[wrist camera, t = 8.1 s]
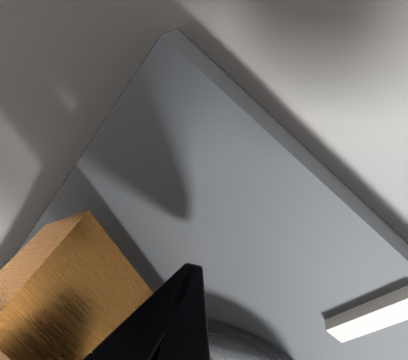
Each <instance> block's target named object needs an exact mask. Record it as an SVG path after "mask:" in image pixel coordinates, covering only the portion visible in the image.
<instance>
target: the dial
mask: <svg viewBox="0 0 408 360" xmlns="http://www.w3.org/2000/svg"><path fill="white" fill-rule="evenodd" d="M152 294H153V292H152V291H151V289H150V288H149V287H148V286H147V284H146V283H145V282H144V280H143V279H142V278H141V277H140V275H139V274H138V273H137V271H136V270H135V269H134V268H133V266H132V265H131V264H130V262H129V261H128V260H127V259H126V257H125V256H124V255H123V253H122V252H121V251H120V250H119V248H118V247H117V246H116V244H115V243H114V242H113V241H112V239H111V238H110V237H109V235H108V234H107V233H106V232H105V230H104V229H103V228H102V226H101V225H100V224H99V223H98V221H97V220H96V219H95V217H94V216H93V215H92V214H91V212H90V211H89V210H88V211H85V212H82V213H79V214H76V215H73V216H70V217H67V218H64V219H62V220H59V221H56V222H53V223H50V224H47V225H45V226H44V227H43V228H42V229H41V230H40V231H39V232H38V233H37V234H36V235H35V236H34V237H33V238H32V239H31V240H30V241H29V242H28V243H27V244H26V245H25V246H24V247H23V248H22V249H21V250H20V251H19V252H18V253H17V254H16V255H15V256H14V257H13V258H12V259H11V260H10V261H9V262H8V263H7V264H6V265H5V266H4V267H3V268H2V269H1V270H0V360H83V359H84V358H85V357H86V356H87V355H88V354H89V353H92V351H93V349H95V348H96V347H97V346H98V345H99V344H100V343H101V342H102V341H103V340H104V339H105V338H106V337H107V336H108V335H109V334H110V333H112V332H113V331H114V330H115V329H116V328H117V327H118V326H119V325H120V324H121V323H122V322H123V321H124V320H125V319H126V318H127V317H129V316H130V315H131V314H132V313H133V312H134V311H135V310H136V309H137V308H138V307H139V306H140V305H141V304H142V303H143V302H144V301H146V300H147V299H148V298H149V297H150V296H151V295H152ZM207 326H208V338H209V350H210V360H290V359H289V358H288V357H287V356H285V355H284V354H283V353H282V352H281V351H279V350H278V349H277V348H275V347H274V346H272V345H271V344H269V343H267V342H266V341H264V340H262V339H260V338H258V337H256V336H254V335H252V334H250V333H247V332H245V331H242V330H240V329H237V328H234V327H231V326H227V325H224V324H220V323H216V322H210V321H207Z"/></svg>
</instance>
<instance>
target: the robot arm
mask: <svg viewBox="0 0 408 360" xmlns="http://www.w3.org/2000/svg"><path fill="white" fill-rule="evenodd" d="M83 360H210V350H209V338H208V326H207V314H206V301H205V289H204V277H203V268H202V266H200V265H196V264H192V263H185V264H184V265H183V266H182V267H181V268H180V269H179V270H177V271H176V272H175V273H174V274H173V275H172V276H171V277H170V278H169V279H168V280H167V281H166V282H165V283H164V284H163V285H162V286H160V287H159V288H158V289H157V290H156V291H155V292H154V293H153V294H152V295H151V296H150V297H149V298H148V299H147V300H146V301H144V302H143V303H142V304H141V305H140V306H139V307H138V308H137V309H136V310H135V311H134V312H133V313H132V314H131V315H130V316H129V317H127V318H126V319H125V320H124V321H123V322H122V323H121V324H120V325H119V326H118V327H117V328H116V329H115V330H114V331H113V332H112V333H110V334H109V335H108V336H107V337H106V338H105V339H104V340H103V341H102V342H101V343H100V344H99V345H98V346H97V347H96V348H95V349H93V351H92V353H89V354H88V355H87V356H86V357H85V358H84V359H83Z"/></svg>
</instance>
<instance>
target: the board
mask: <svg viewBox="0 0 408 360" xmlns="http://www.w3.org/2000/svg"><path fill="white" fill-rule="evenodd" d="M88 210H89V211H90V212H91V214H92V215H93V216H94V217H95V219H96V220H97V221H98V223H99V224H100V225H101V226H102V228H103V229H104V230H105V232H106V233H107V234H108V235H109V237H110V238H111V239H112V241H113V242H114V243H115V244H116V246H117V247H118V248H119V250H120V251H121V252H122V253H123V255H124V256H125V257H126V259H127V260H128V261H129V262H130V264H131V265H132V266H133V268H134V269H135V270H136V271H137V273H138V274H139V275H140V277H141V278H142V279H143V280H144V282H145V283H146V284H147V286H148V287H149V288H150V289H151V291H152V292H153V293H154V292H155V291H156V290H157V289H158V288H159V287H160V286H162V285H163V284H164V283H165V282H166V281H167V280H168V279H169V278H170V277H171V276H172V275H173V274H174V273H175V272H176V271H177V270H179V269H180V268H181V267H182V266H183V265H184V264H185V263H192V264H196V265H200V266H202V268H203V277H204V289H205V301H206V314H207V321H210V322H216V323H220V324H224V325H227V326H231V327H234V328H237V329H240V330H242V331H245V332H247V333H250V334H252V335H254V336H256V337H258V338H260V339H262V340H264V341H266V342H267V343H269V344H271V345H272V346H274V347H275V348H277V349H278V350H279V351H281V352H282V353H283V354H284V355H285V356H287V357H288V358H289V359H290V360H408V243H407V242H406V241H404V240H403V239H402V238H401V237H400V236H399V235H398V234H397V233H396V232H395V231H394V230H393V229H392V228H391V227H389V226H388V225H387V224H386V223H385V222H384V221H383V220H382V219H381V218H380V217H379V216H378V215H377V214H376V213H374V212H373V211H372V210H371V209H370V208H369V207H368V206H367V205H366V204H365V203H364V202H363V201H362V200H361V199H360V198H358V197H357V196H356V195H355V194H354V193H353V192H352V191H351V190H350V189H349V188H348V187H347V186H346V185H345V184H343V183H342V182H341V181H340V180H339V179H338V178H337V177H336V176H335V175H334V174H333V173H332V172H331V171H330V170H329V169H327V168H326V167H325V166H324V165H323V164H322V163H321V162H320V161H319V160H318V159H317V158H316V157H315V156H314V155H312V154H311V153H310V152H309V151H308V150H307V149H306V148H305V147H304V146H303V145H302V144H301V143H300V142H299V141H297V140H296V139H295V138H294V137H293V136H292V135H291V134H290V133H289V132H288V131H287V130H286V129H285V128H284V127H283V126H281V125H280V124H279V123H278V122H277V121H276V120H275V119H274V118H273V117H272V116H271V115H270V114H269V113H268V112H266V111H265V110H264V109H263V108H262V107H261V106H260V105H259V104H258V103H257V102H256V101H255V100H254V99H253V98H251V97H250V96H249V95H248V94H247V93H246V92H245V91H244V90H243V89H242V88H241V87H240V86H239V85H238V84H237V83H235V82H234V81H233V80H232V79H231V78H230V77H229V76H228V75H227V74H226V73H225V72H224V71H223V70H222V69H220V68H219V67H218V66H217V65H216V64H215V63H214V62H213V61H212V60H211V59H210V58H209V57H208V56H207V55H206V54H204V53H203V52H202V51H201V50H200V49H199V48H198V47H197V46H196V45H195V44H194V43H193V42H192V41H191V40H189V39H188V38H187V37H186V36H185V35H184V34H183V33H182V32H181V31H180V30H179V29H178V28H176V29H174V30H171V31H169V32H167V33H164V34H162V35H161V36H160V38H159V39H158V41H157V42H156V44H155V45H154V47H153V48H152V50H151V51H150V53H149V54H148V56H147V57H146V59H145V60H144V62H143V63H142V65H141V66H140V68H139V69H138V71H137V72H136V74H135V75H134V77H133V78H132V80H131V81H130V83H129V84H128V86H127V87H126V89H125V90H124V92H123V93H122V95H121V97H120V98H119V100H118V101H117V103H116V104H115V106H114V107H113V109H112V110H111V112H110V113H109V115H108V116H107V118H106V119H105V121H104V122H103V124H102V125H101V127H100V128H99V130H98V131H97V133H96V134H95V136H94V137H93V139H92V140H91V142H90V143H89V145H88V146H87V148H86V149H85V151H84V152H83V154H82V155H81V157H80V158H79V160H78V161H77V163H76V164H75V166H74V167H73V169H72V170H71V172H70V173H69V175H68V176H67V178H66V179H65V181H64V182H63V184H62V185H61V187H60V188H59V190H58V191H57V193H56V195H55V196H54V198H53V199H52V201H51V202H50V204H49V205H48V207H47V208H46V210H45V211H44V213H43V214H42V216H41V217H40V219H39V220H38V222H37V223H36V225H35V226H34V228H33V229H32V231H31V232H30V234H29V235H28V237H27V238H26V240H25V241H24V243H23V244H22V246H21V247H20V249H19V250H18V252H19V251H20V250H21V249H22V248H23V247H24V246H25V245H26V244H27V243H28V242H29V241H30V240H31V239H32V238H33V237H34V236H35V235H36V234H37V233H38V232H39V231H40V230H41V229H42V228H43V227H44V226H45V225H47V224H50V223H53V222H56V221H59V220H62V219H64V218H67V217H70V216H73V215H76V214H79V213H82V212H85V211H88ZM18 252H17V253H18ZM17 253H16V254H17Z"/></svg>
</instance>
